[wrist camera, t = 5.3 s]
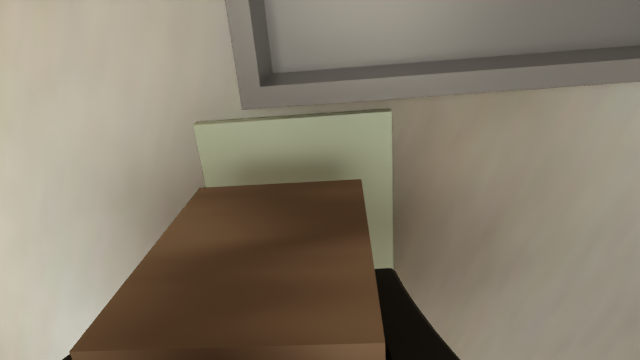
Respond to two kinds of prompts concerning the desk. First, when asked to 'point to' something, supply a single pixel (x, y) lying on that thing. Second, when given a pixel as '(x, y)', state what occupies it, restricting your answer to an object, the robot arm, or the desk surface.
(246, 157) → the pad
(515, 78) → the case
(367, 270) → the module block
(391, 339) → the robot arm
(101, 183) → the desk surface
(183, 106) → the desk surface
